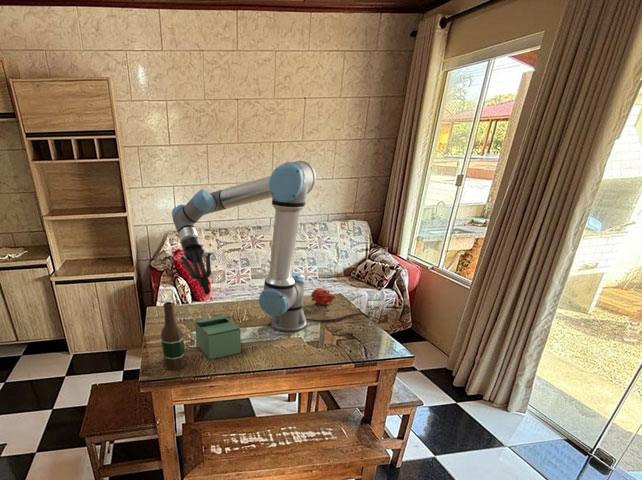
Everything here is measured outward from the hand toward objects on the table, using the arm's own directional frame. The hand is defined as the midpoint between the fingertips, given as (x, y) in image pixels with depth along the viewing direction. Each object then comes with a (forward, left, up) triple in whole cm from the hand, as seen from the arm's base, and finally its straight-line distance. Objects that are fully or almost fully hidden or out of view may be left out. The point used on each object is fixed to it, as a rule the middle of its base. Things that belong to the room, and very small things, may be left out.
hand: (207, 292), depth 159 cm
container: (-4, +8, -20) cm, 22 cm away
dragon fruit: (-49, -45, -21) cm, 70 cm away
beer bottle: (+10, +23, -21) cm, 32 cm away
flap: (-2, +4, -9) cm, 11 cm away
